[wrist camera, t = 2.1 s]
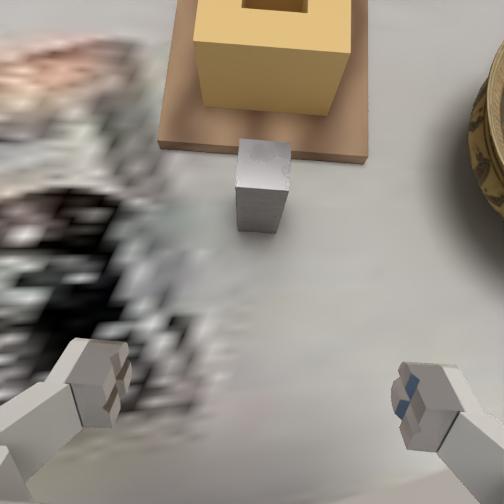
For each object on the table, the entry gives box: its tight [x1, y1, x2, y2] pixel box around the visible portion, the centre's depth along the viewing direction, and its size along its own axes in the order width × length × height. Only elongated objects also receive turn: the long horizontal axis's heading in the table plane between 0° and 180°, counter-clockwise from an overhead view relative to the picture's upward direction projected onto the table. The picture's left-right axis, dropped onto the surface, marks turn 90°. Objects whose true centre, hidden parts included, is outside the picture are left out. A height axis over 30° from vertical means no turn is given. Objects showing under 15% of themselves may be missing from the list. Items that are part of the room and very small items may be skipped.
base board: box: [157, 0, 368, 164], centre depth 38 cm, size 20×23×2 cm
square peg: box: [235, 139, 291, 233], centre depth 30 cm, size 4×4×10 cm
